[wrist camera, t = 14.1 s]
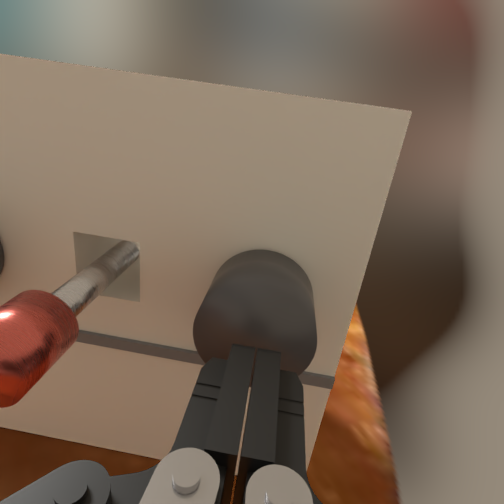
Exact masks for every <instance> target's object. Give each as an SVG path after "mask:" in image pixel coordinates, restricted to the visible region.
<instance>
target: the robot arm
mask: <svg viewBox="0 0 504 504" xmlns="http://www.w3.org/2000/svg"><path fill="white" fill-rule="evenodd" d="M255 348H256V347H251V346H245V345H240V344H234V343H233V344H232V347H231V351H230V354H229V358H228V360H224V359H219V358H213V357H212V358H211V359H210V360H209V361H208V362H207V363H206V364H205V365H204V366H203V367H202V368H201V370H200V373H199V376H198V378H197V381H196V385H195V387H194V389H193V392H192V396H191V398H190V400H189V403H188V406H187V409H186V411H185V414H184V417H183V420H182V422H181V425H180V428H179V431H178V433H177V436H176V439H175V442H174V444H173V446H172V449H171V450H170V452H169V453H168V454H167V455H166V456H165V457H164V458H163V459H162V460H161V461H160V462H159V463H158V464H156V465H155V466H153V467H151V468H149V469H147V470H144V471H142V472H137V473H131V474H124V475H117V476H109V474H108V472H107V470H106V469H105V468H104V467H103V466H102V465H101V464H99V463H97V462H95V461H91V460H78V461H73V462H70V463H67V464H64V465H63V466H61V467H59V468H57V469H55V470H53V471H52V472H50V473H48V474H47V475H45V476H43V477H41V478H40V479H38V480H36V481H35V482H33V483H31V484H29V485H28V486H26V487H24V488H22V489H21V490H19V491H17V492H16V493H14V494H12V495H10V496H9V497H7V498H5V499H4V500H2V501H0V504H230V500H231V494H232V488H233V482H234V476H235V470H236V464H237V458H238V452H239V445H240V439H241V433H242V427H243V421H244V415H245V409H246V403H247V397H248V391H249V384H250V378H251V372H252V366H253V360H254V354H255ZM280 362H281V352H279V351H274V350H268V349H262V348H258V349H257V355H256V361H255V367H254V373H253V379H252V385H251V391H250V397H249V403H248V409H247V416H246V422H245V428H244V435H243V441H242V448H241V454H240V460H239V467H238V473H237V479H236V486H235V492H234V499H233V504H322V503H321V502H320V501H319V499H318V498H317V497H316V495H315V494H314V492H313V491H312V489H311V487H310V484H309V482H308V478H307V474H306V454H305V423H304V405H303V404H304V393H303V385H302V383H301V381H300V379H299V377H298V376H297V374H296V372H291V371H285V370H280Z"/></svg>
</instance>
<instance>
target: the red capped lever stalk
mask: <svg viewBox="0 0 504 504" xmlns="http://www.w3.org/2000/svg"><path fill="white" fill-rule="evenodd" d="M138 257H139V249H138V247H137V246H136V244H135V243H133V242H132V241H127V240H122V241H120V242H119V243H117V244H116V245H115V246H113V247H112V248H111V249H109V250H108V251H107V252H105V253H104V254H103V255H101V256H100V257H99V258H97V259H96V260H95V261H93V262H92V263H91V264H89V265H88V266H87V267H85V268H84V269H83V270H81V271H80V272H79V273H77V274H76V275H75V276H73V277H72V278H71V279H69V280H68V281H67V282H65V283H64V284H63V285H61V286H60V287H59V288H57V289H56V290H55V291H54V292H52V293H48V292H45V291H41V290H27V291H23V292H21V293H19V294H18V295H16V296H15V297H13V298H12V299H10V300H9V301H7V302H6V303H4V304H3V305H1V306H0V408H5V407H10V406H13V405H14V404H16V403H17V402H19V401H20V400H21V399H22V398H23V397H24V396H25V394H26V393H27V392H28V391H29V390H30V389H31V388H32V387H33V386H34V385H35V384H36V383H37V382H38V381H39V380H40V379H41V378H42V377H43V375H44V374H45V373H46V372H47V371H48V370H49V369H50V368H51V367H52V366H53V365H54V364H55V363H56V362H57V361H58V360H59V359H60V358H61V356H62V355H63V354H64V353H65V352H66V351H67V350H68V349H69V348H70V347H71V346H72V345H73V344H74V343H75V341H76V340H77V337H78V334H79V326H78V321H77V319H76V316H77V315H78V314H80V313H81V312H82V311H83V310H84V309H85V308H86V307H87V306H88V305H89V304H90V303H91V302H92V301H93V300H94V299H95V298H96V297H98V296H99V295H100V294H101V293H102V292H103V291H104V290H105V289H106V288H107V287H108V286H109V285H110V284H111V283H112V282H113V281H114V280H116V279H117V278H118V277H119V276H120V275H121V274H122V273H123V272H124V271H125V270H126V269H127V268H128V267H129V266H130V265H131V264H132V263H134V262H135V261H136V260H137V259H138Z"/></svg>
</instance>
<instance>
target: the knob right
mask: <svg viewBox="0 0 504 504" xmlns="http://www.w3.org/2000/svg"><path fill="white" fill-rule="evenodd" d="M193 339H194V344H195V347H196V350H197V352H198V354H199V355H200V357H201V359H202V360H203V361H204V363H205V364H206V363H207V362H208V361H209V360H210V359H211V358H212V357H213V358H219V359H224V360H228V358H229V354H230V351H231V347H232V344H233V343H234V344H240V345H245V346H251V347H256V348H255V354H254V360H253V366H252V372H251V378H250V384H249V387H251V385H252V379H253V373H254V367H255V361H256V355H257V349H258V348H262V349H268V350H274V351H279V352H281V362H280V370H285V371H291V372H296V374H297V376H299V375H300V374H302V373H303V372H304V371H305V370H306V369H307V367H308V366H309V365H310V363H311V362H312V360H313V358H314V355H315V352H316V348H317V329H316V319H315V309H314V298H313V290H312V286H311V282H310V280H309V278H308V276H307V274H306V273H305V271H304V270H303V269H302V268H301V267H300V266H299V265H298V264H297V263H296V262H295V261H294V260H292V259H291V258H289V257H287V256H285V255H283V254H281V253H278V252H275V251H270V250H249V251H245V252H241V253H239V254H237V255H235V256H233V257H231V258H230V259H228V260H227V261H226V262H225V263H224V264H223V265H222V266H221V267H220V268H219V270H218V271H217V273H216V275H215V277H214V279H213V281H212V283H211V285H210V287H209V289H208V291H207V293H206V295H205V297H204V300H203V302H202V304H201V306H200V308H199V310H198V312H197V314H196V316H195V320H194V324H193Z"/></svg>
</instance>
